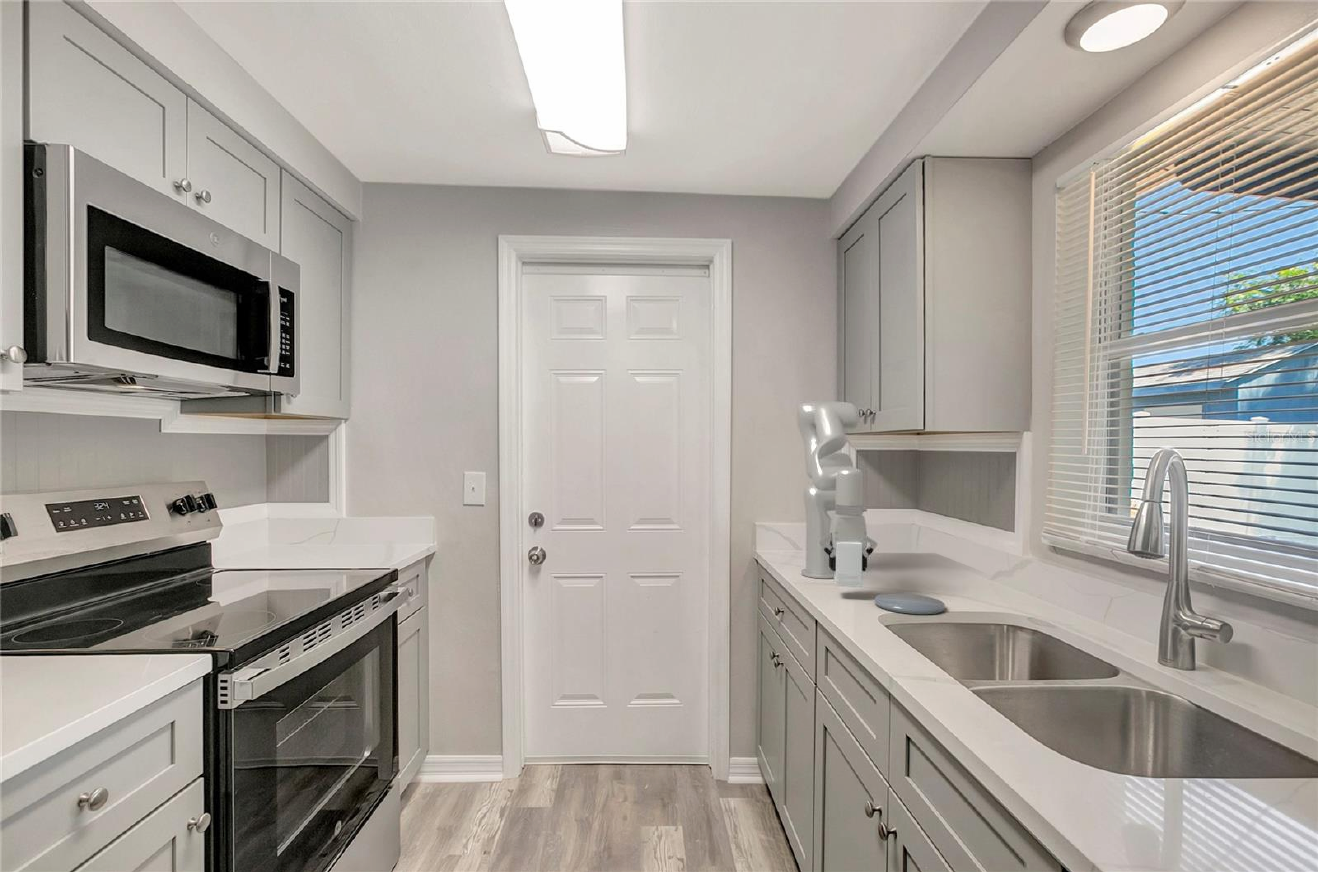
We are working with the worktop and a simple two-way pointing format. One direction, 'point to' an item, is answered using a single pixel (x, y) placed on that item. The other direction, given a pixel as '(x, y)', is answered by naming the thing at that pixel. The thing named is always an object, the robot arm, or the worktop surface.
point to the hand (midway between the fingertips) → (847, 569)
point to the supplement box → (848, 564)
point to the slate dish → (909, 603)
